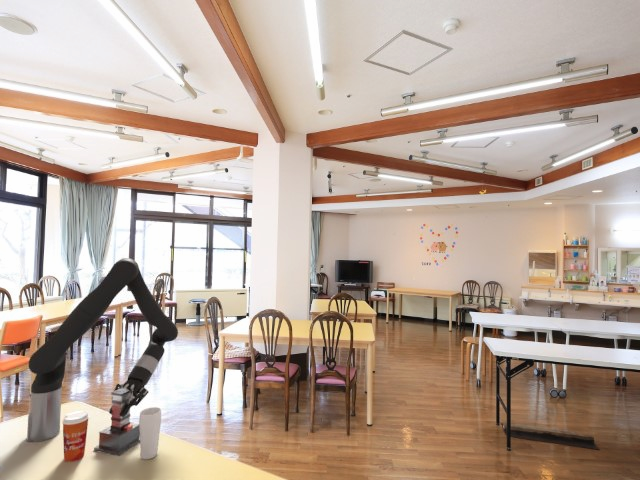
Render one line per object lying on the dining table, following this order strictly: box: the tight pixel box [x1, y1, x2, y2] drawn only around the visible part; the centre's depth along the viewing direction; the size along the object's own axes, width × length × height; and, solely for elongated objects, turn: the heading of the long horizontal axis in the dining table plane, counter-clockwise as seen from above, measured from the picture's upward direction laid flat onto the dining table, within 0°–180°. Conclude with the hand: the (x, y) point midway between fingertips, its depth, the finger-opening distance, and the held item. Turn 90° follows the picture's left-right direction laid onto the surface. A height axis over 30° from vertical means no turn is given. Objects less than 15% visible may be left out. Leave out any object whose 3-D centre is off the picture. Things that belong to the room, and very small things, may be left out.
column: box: [110, 388, 132, 433], centre depth 126 cm, size 5×5×16 cm
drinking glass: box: [138, 406, 162, 460], centre depth 120 cm, size 7×7×15 cm
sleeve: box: [93, 421, 140, 457], centre depth 126 cm, size 11×11×7 cm
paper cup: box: [61, 410, 91, 463], centre depth 118 cm, size 8×8×14 cm
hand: (116, 414), depth 124 cm, fingers closed on column, 4 cm apart
